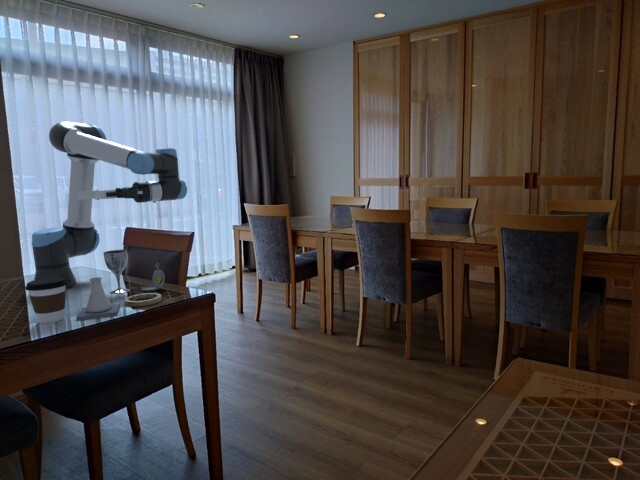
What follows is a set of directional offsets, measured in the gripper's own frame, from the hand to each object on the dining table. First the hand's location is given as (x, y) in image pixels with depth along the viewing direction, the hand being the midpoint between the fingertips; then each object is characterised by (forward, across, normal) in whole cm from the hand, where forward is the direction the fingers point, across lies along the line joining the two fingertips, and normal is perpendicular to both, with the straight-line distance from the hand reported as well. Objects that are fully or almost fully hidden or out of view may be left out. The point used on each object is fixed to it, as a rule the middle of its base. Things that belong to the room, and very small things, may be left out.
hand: (86, 195), depth 157 cm
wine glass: (-11, +7, -36) cm, 38 cm away
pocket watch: (-19, -2, -36) cm, 41 cm away
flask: (+7, -16, -35) cm, 39 cm away
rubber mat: (+7, -16, -36) cm, 40 cm away
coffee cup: (+19, -11, -36) cm, 42 cm away
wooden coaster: (-8, -16, -36) cm, 40 cm away
